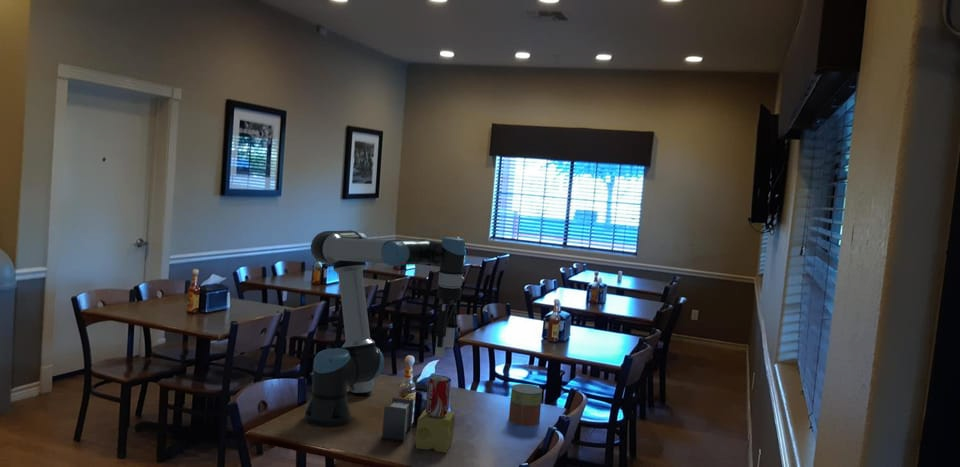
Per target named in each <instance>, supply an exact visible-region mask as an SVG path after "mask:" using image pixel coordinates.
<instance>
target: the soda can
mask: <svg viewBox="0 0 960 467" xmlns="http://www.w3.org/2000/svg"><path fill="white" fill-rule="evenodd" d="M429 377H430V378H429V380H428V382H427V388H426V400H425V409H426V413H427V414H428V415H429V416H432V417H443V416H444V415H446V414H447V412H448V410H449V398H450V385H451V384H450V383H451V382H450V381H449V377H448V376H446V375H442V374H441V375H440V374H434V375H430V376H429Z"/></svg>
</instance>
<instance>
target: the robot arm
mask: <svg viewBox="0 0 960 467" xmlns="http://www.w3.org/2000/svg"><path fill="white" fill-rule="evenodd" d="M310 252H311V255H312V257H313V259H314V260H316V261H317V262H319V263H320V264H321V263H322V264H325V265H332V267H333V271H334V272H336V274H337V275H338V283H339V289H340V300H341V309H342V320H343V328H344V336H345V342H344V343H343V345H342V346H341V347H335V348H327V349H323V350H321V351H319V352H317V353H316V355H315V356H314V360H313V366H312V382H311V383H312V385H311V386H312V387H311V397H310V400H309V403H308V405H307V407H306V410H305V412H304V421H305V422H306V423H307V424H308V425H309V424H310V425H312V426H315V427H321V428H323V427H324V428H332V427H340V426H344V425H346V424H348V423H349V422H350V420H351V410H350V406H349V403H348V398H347V396H348V386H350V385H354V384H358V383H362V382H369V381H370V380H373V379H374V380H376V379H377V378H378V377H379V376H380V375H381V373H383V369H384V365H385V359H384V354H383V352H382V351H381V349H380V348H379V347H377V346H376V342H375V340H373V339H372V338H371V334H370V333H371V332H370V326H369V317H368V308H367V307H368V306H367V299H366V290H365V282H364V274H363V273H364V270H366V269H365V268H366V267H367V263H370V264H371V263H373V264H384V265H388V266H394V267H399V266H410V265H426V264H427V265H435V266H438V267H439V273H438V281H437V282H438V283H437V285H439V286H438V287H437V295H436V297H437V298H438V299H440V300H443V302H442V303H440V304H439V311H438V317H437V322H436V327H435V332H434V333H433V336H434V337H436V338H435V339H436V340H435V350H434V357H435V358H442V359H443V358H444V357H445V348H450V349H453V348H454V346H455V343H454V342H455V335H456V334H455V333H456V329H458V326H459V325H458V315H457V313H458V311H457V304H458V303H457V301H458V300H461V298H462V288H461V287H462V286H463V281H464V280H465V277H463V275H464V273H463V272H464V264H465V255H466V241H465V239H464V238H462V237H461V238H459V237H450V236H445V237H443V238H442V239H441V241H435V240H429V239H425V238H424V239H423V238H422V239H419V238H418V239H417V238H416V239H415V240H388V239H387V240H386V239H373V238H372V239H369V238H368V236H366V234H365V233H363V232H361V231H358V230H352V229H351V230H326V231H322V232H319V233H317V234H316V235H315V236H314V237H313V238H312V241H311V243H310Z"/></svg>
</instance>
